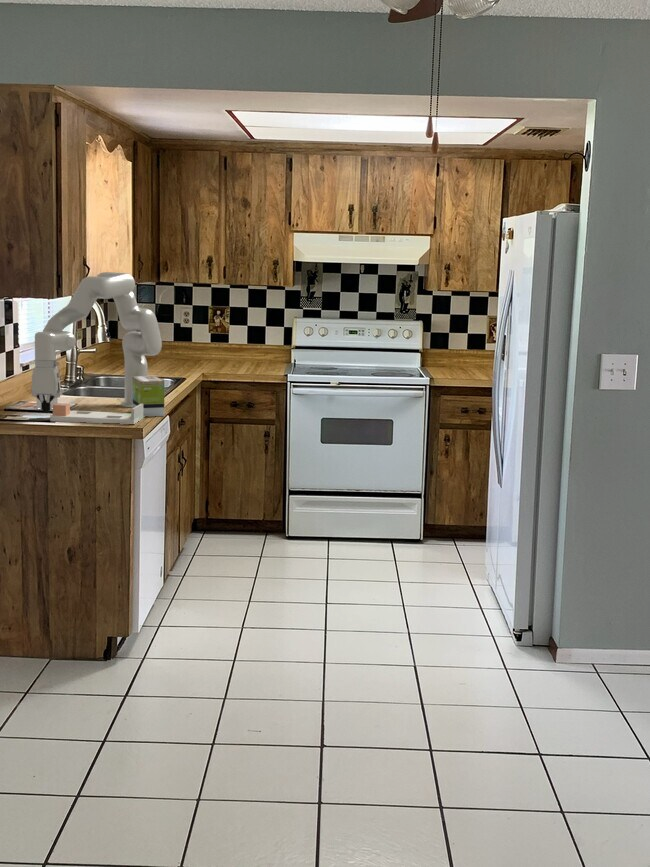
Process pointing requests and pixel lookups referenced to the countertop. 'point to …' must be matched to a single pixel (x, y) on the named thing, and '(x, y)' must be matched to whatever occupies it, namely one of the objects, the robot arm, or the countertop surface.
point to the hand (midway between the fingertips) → (46, 412)
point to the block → (61, 409)
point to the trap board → (102, 416)
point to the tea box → (149, 395)
